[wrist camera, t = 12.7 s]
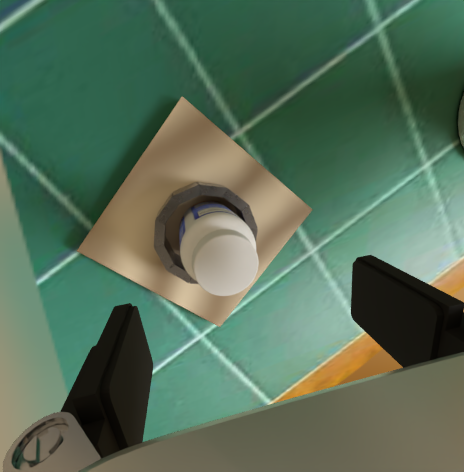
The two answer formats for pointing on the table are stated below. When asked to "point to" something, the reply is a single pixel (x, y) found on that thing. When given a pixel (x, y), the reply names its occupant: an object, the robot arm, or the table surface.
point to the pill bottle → (217, 248)
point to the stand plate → (173, 178)
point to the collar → (182, 195)
